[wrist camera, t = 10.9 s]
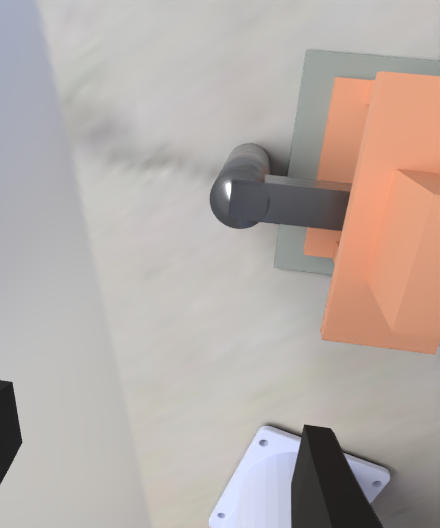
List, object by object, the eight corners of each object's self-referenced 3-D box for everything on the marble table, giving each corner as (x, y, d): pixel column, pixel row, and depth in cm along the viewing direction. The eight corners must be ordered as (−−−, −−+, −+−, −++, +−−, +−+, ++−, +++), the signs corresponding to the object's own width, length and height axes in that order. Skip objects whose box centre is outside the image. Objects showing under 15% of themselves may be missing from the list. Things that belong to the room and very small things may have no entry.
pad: (457, 63, 15) (461, 62, 15) (394, 279, 19) (396, 282, 18) (305, 50, 15) (306, 49, 15) (273, 265, 19) (273, 267, 19)
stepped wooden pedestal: (420, 84, 15) (629, 83, 6) (375, 258, 18) (475, 420, 9) (334, 77, 15) (421, 65, 7) (303, 249, 18) (335, 400, 10)
